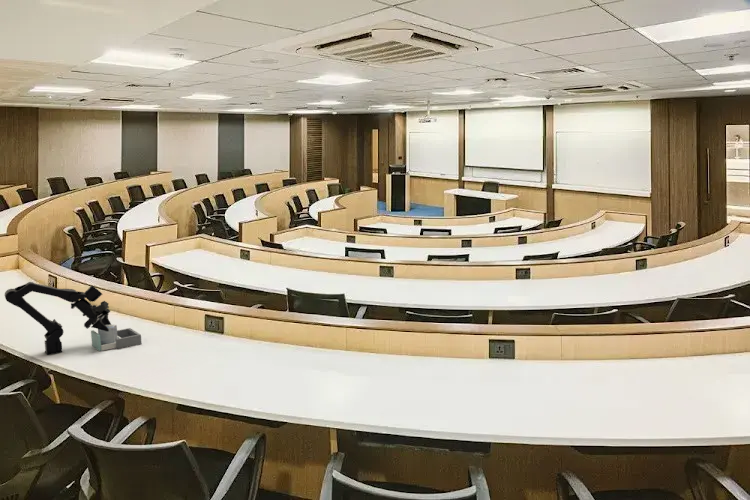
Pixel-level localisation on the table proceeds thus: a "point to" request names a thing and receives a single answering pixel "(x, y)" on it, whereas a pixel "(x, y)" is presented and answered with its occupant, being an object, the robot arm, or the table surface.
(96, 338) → the tray
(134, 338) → the dock
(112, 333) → the medicine box
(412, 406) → the table surface
